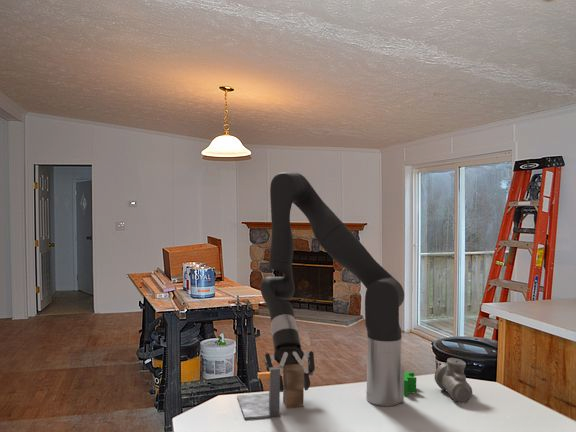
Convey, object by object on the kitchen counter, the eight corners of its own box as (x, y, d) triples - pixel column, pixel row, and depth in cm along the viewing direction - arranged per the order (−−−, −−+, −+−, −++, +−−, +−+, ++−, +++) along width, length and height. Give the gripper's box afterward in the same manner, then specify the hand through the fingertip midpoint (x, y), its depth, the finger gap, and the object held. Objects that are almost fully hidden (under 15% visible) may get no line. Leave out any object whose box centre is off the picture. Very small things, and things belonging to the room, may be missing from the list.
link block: (299, 400, 136) (299, 363, 136) (303, 406, 131) (303, 368, 131) (283, 401, 135) (283, 364, 135) (286, 408, 130) (287, 369, 130)
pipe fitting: (432, 386, 147) (436, 353, 146) (459, 388, 147) (463, 355, 146) (445, 406, 135) (450, 370, 134) (474, 409, 135) (480, 373, 134)
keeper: (269, 395, 139) (269, 352, 139) (280, 416, 125) (281, 368, 125) (237, 397, 137) (237, 354, 137) (244, 419, 123) (245, 371, 123)
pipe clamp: (417, 397, 140) (417, 381, 140) (404, 397, 140) (404, 380, 140) (412, 383, 151) (412, 368, 151) (399, 383, 151) (399, 368, 151)
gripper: (262, 328, 139) (269, 385, 127) (312, 326, 142) (323, 381, 131) (258, 342, 144) (265, 398, 133) (307, 340, 147) (317, 394, 136)
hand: (294, 389), depth 132 cm, fingers open, 6 cm apart
